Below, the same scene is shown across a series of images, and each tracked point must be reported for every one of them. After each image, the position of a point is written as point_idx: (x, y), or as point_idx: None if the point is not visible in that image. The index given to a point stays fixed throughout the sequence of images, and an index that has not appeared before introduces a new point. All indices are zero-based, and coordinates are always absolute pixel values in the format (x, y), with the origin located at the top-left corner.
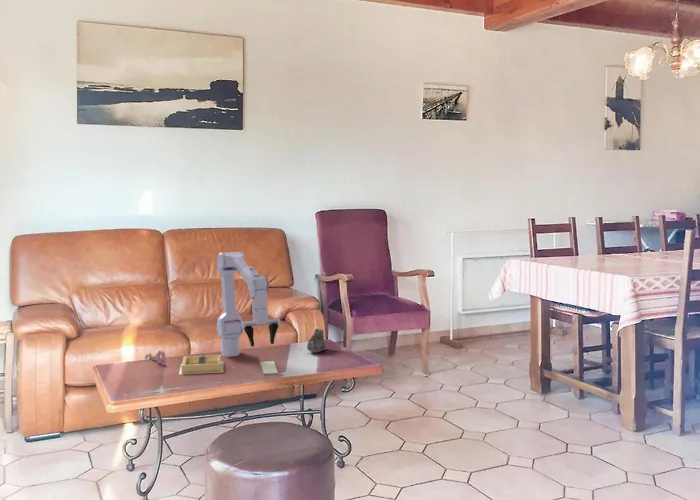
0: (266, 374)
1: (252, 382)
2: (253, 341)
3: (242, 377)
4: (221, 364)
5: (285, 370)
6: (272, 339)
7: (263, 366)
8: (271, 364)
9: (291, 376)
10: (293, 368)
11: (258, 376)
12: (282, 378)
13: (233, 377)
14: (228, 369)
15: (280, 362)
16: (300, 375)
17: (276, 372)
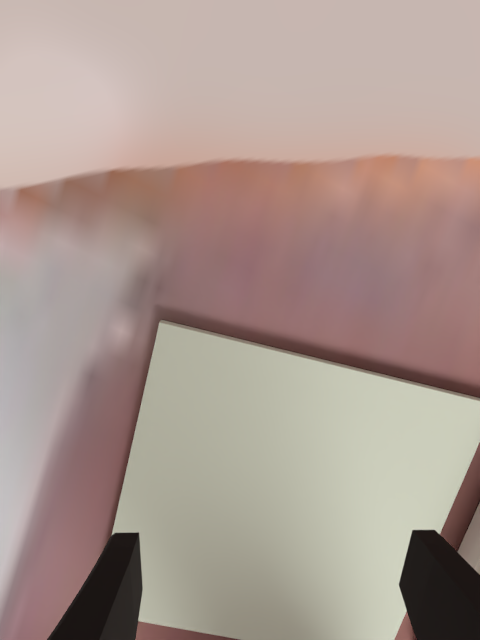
0: (243, 340)
1: (408, 182)
2: (463, 587)
3: (418, 344)
4: None
5: (79, 392)
6: (113, 591)
7: (204, 516)
8: None
9: (83, 212)
10: (8, 419)
11: (309, 321)
12: (166, 188)
13: (470, 370)
14: None
15: (54, 591)
16: (8, 209)
17: (168, 328)
